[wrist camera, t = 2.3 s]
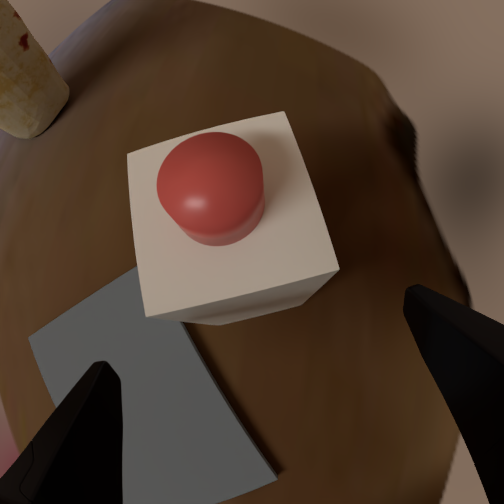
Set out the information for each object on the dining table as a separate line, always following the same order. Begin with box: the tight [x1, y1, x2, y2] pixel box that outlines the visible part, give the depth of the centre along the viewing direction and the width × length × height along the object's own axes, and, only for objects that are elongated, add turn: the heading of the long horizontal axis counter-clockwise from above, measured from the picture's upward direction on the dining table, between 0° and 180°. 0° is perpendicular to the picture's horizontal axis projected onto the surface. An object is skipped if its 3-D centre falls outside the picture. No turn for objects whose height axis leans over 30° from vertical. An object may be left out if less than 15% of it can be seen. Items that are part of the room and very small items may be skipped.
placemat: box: [28, 266, 278, 504], centre depth 17 cm, size 16×12×1 cm
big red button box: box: [127, 111, 340, 325], centre depth 13 cm, size 5×5×12 cm
